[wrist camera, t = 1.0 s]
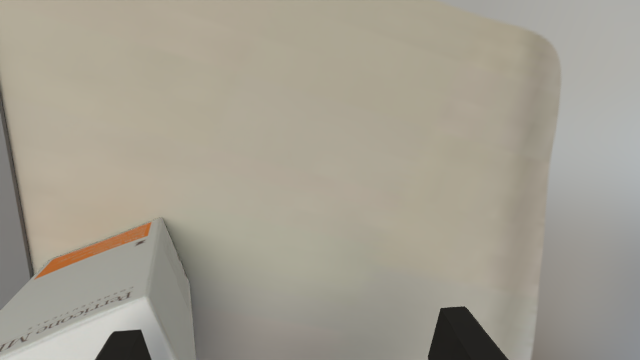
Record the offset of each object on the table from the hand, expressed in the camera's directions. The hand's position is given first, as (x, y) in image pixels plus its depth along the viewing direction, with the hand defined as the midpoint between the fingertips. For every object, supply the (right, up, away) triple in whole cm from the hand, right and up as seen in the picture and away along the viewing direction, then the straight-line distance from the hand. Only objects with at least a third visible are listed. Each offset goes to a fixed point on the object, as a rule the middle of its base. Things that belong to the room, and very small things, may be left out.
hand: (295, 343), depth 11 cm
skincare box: (-10, -1, +13) cm, 16 cm away
